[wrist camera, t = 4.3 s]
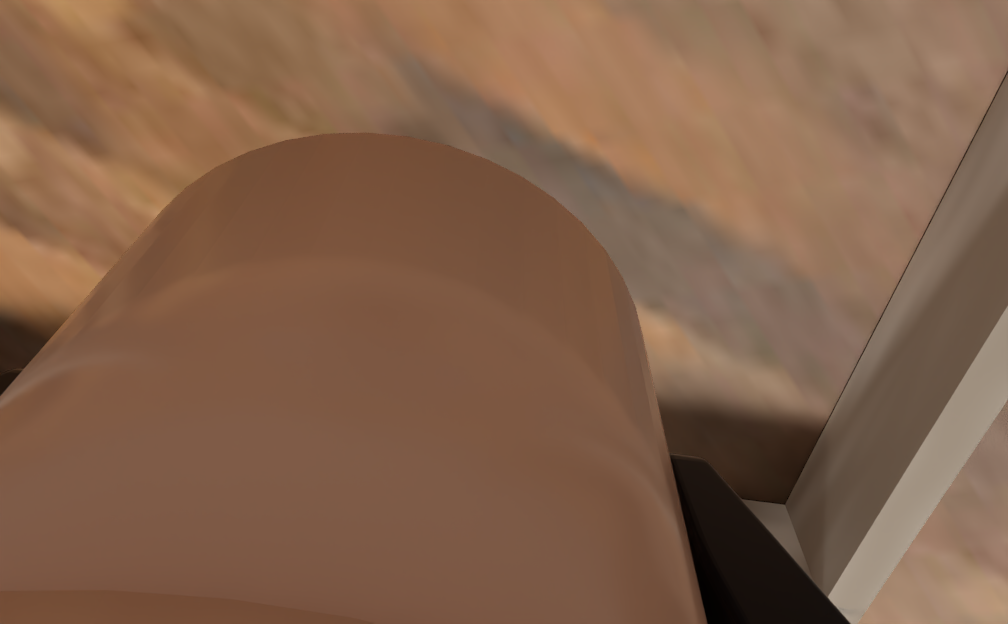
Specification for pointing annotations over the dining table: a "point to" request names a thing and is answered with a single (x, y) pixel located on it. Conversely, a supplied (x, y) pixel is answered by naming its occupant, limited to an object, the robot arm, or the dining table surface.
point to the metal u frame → (911, 392)
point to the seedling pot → (346, 412)
